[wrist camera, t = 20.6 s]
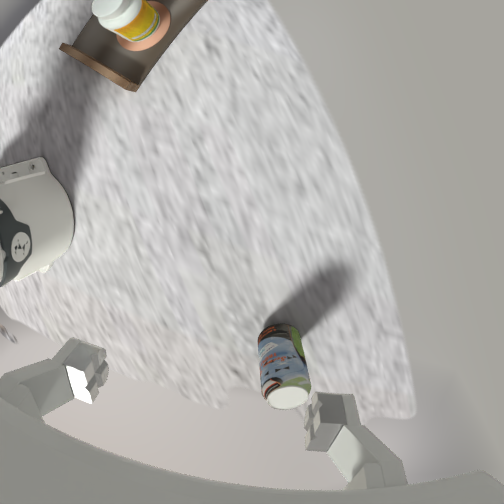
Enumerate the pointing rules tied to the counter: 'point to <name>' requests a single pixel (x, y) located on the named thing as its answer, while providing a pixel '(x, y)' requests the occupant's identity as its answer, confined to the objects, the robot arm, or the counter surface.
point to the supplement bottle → (127, 18)
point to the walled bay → (131, 44)
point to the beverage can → (283, 367)
